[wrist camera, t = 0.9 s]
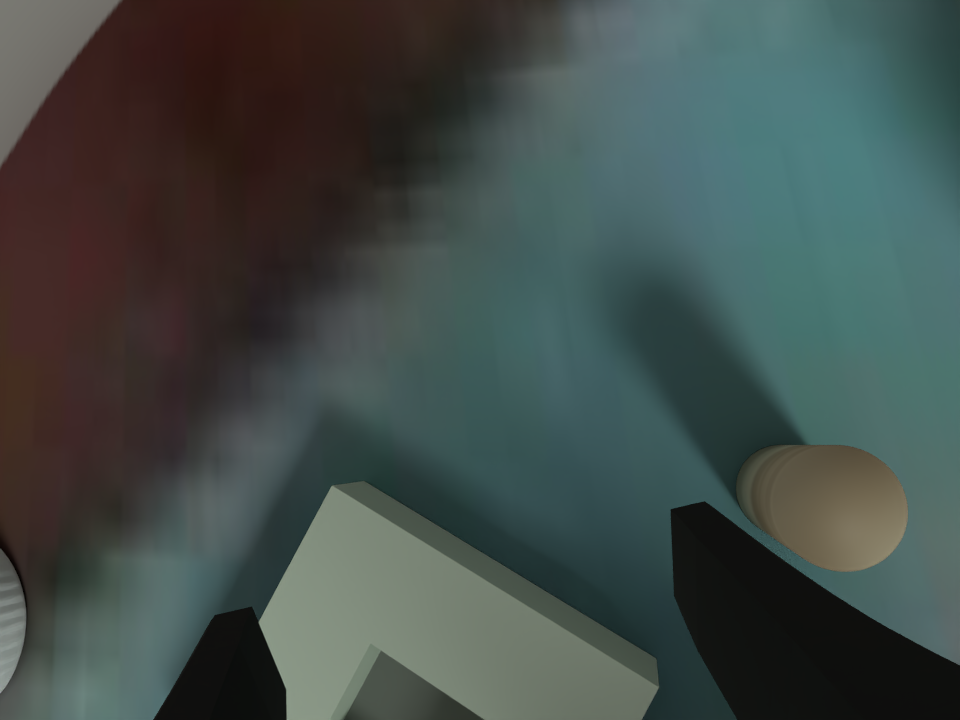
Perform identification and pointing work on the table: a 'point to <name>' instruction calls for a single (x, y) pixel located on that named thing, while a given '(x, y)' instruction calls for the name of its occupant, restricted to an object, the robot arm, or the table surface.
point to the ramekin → (10, 620)
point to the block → (434, 629)
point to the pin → (825, 503)
